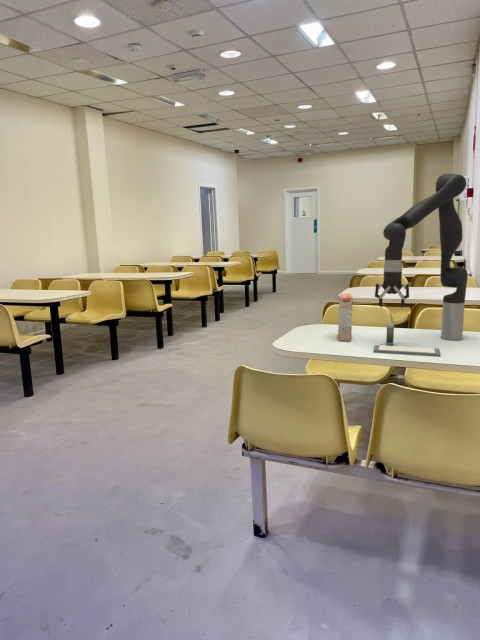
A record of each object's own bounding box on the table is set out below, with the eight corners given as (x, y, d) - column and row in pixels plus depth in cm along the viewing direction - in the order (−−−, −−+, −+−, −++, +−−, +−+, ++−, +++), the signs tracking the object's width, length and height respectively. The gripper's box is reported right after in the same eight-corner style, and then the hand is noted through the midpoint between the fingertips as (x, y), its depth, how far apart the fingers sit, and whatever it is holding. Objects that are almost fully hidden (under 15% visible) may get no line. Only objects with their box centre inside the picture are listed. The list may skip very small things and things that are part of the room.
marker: (386, 344, 211) (387, 322, 209) (393, 344, 210) (394, 323, 208) (386, 346, 208) (386, 323, 206) (393, 346, 207) (394, 324, 205)
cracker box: (352, 341, 218) (353, 297, 214) (338, 341, 219) (339, 297, 215) (350, 335, 231) (351, 293, 228) (338, 335, 232) (338, 293, 229)
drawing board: (375, 347, 206) (375, 344, 206) (438, 350, 197) (439, 348, 197) (373, 352, 197) (373, 349, 197) (440, 356, 188) (440, 353, 188)
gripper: (410, 270, 204) (408, 306, 207) (376, 269, 209) (375, 305, 211) (410, 271, 197) (408, 309, 200) (375, 271, 202) (374, 308, 204)
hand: (391, 307), depth 205 cm, fingers open, 8 cm apart
